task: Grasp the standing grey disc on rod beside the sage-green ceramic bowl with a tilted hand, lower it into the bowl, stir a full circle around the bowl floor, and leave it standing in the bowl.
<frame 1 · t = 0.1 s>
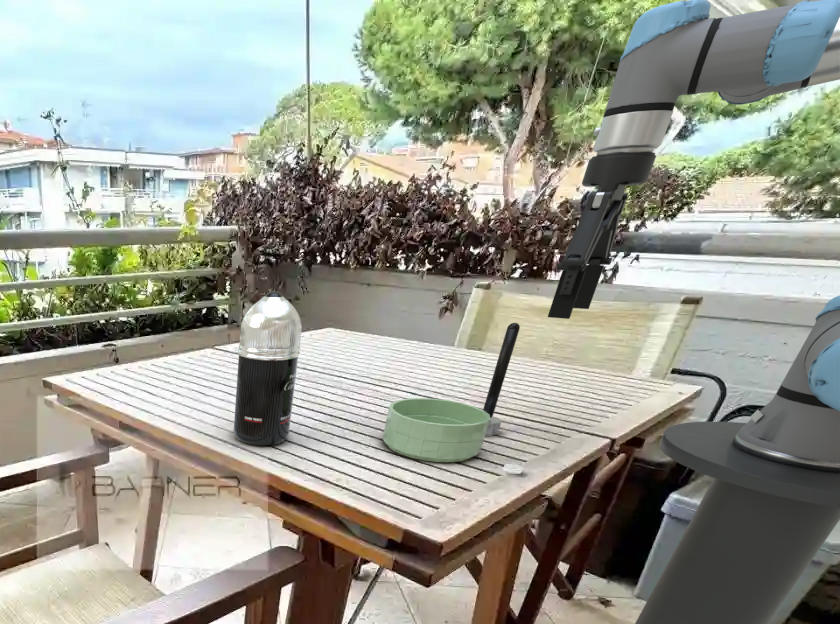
hand: (568, 313, 87), 21 cm above the table, tool pointing down, fingers open, 13 cm apart
bowl: (428, 447, 95), on the table
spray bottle: (260, 439, 100), on the table
grey disc on rod: (482, 431, 102), on the table
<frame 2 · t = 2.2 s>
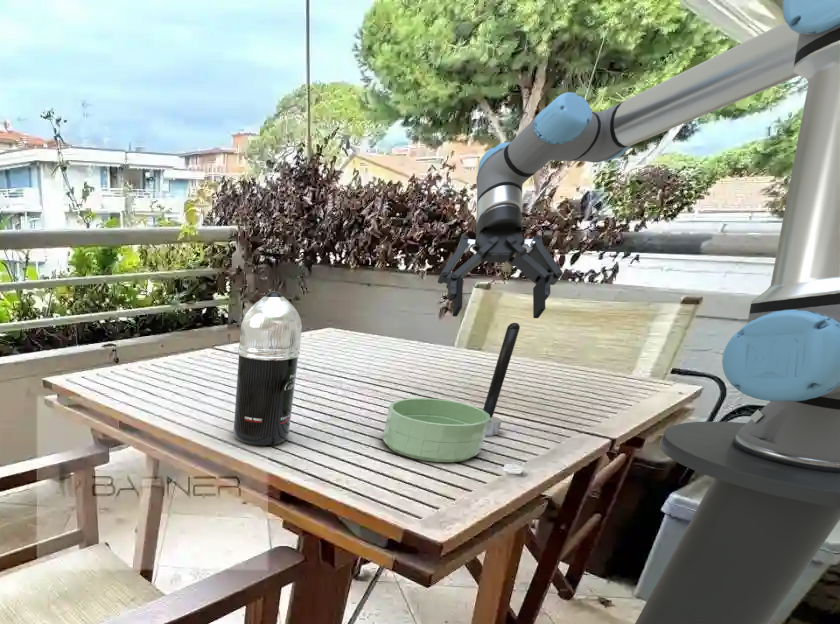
hand: (497, 312, 101), 19 cm above the table, tool tilted 45°, fingers open, 13 cm apart
nothing on the table moved.
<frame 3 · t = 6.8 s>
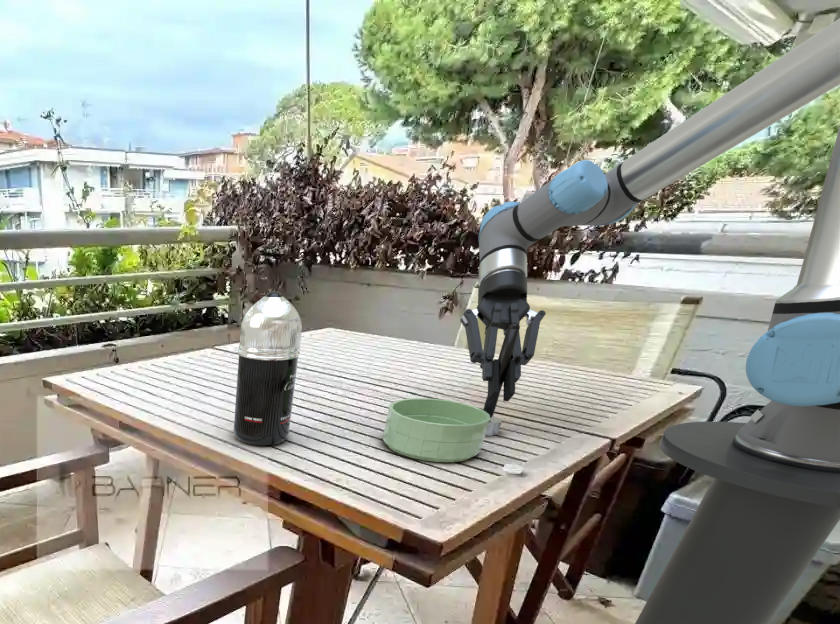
hand: (501, 396, 95), 8 cm above the table, tool tilted 45°, fingers closed on grey disc on rod, 2 cm apart
grey disc on rod: (482, 431, 102), on the table, touching gripper
everything else where it was.
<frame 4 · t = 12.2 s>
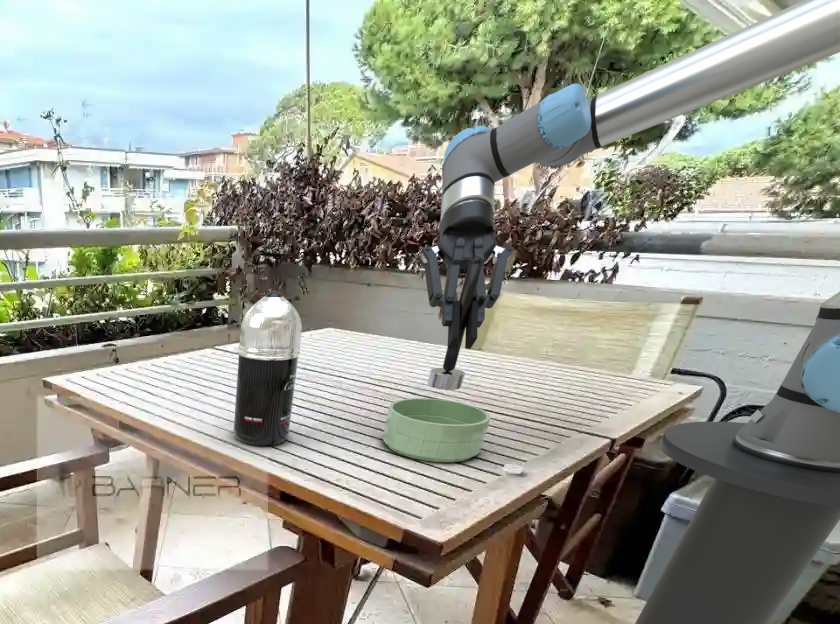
hand: (462, 342, 83), 18 cm above the table, tool tilted 45°, fingers closed on grey disc on rod, 2 cm apart
grey disc on rod: (443, 385, 90), point 11 cm above the table, touching gripper
everything else where it was.
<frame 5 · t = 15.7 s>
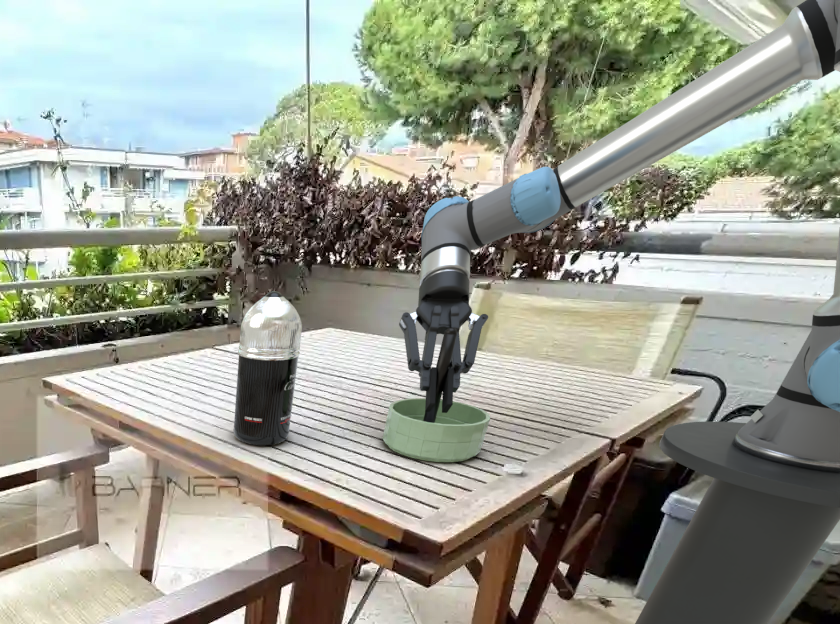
hand: (438, 407, 87), 8 cm above the table, tool tilted 45°, fingers closed on grey disc on rod, 2 cm apart
grey disc on rod: (423, 444, 94), point 1 cm above the table, touching gripper
everything else where it was.
when the fingers open (8 cm above the table, at t = 18.0 s): grey disc on rod stays where it is, resting on bowl.
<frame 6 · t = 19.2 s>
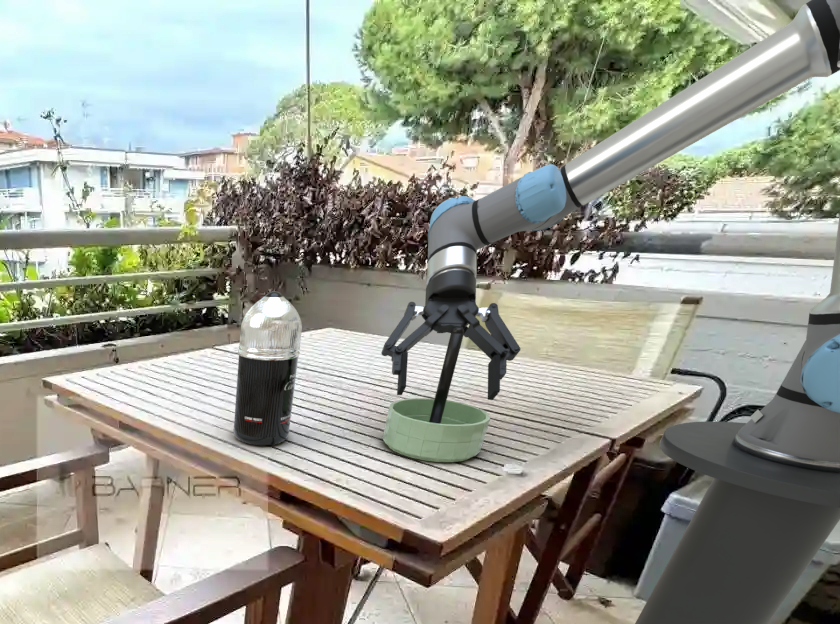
hand: (446, 393, 88), 10 cm above the table, tool tilted 45°, fingers open, 13 cm apart
grey disc on rod: (429, 442, 95), point 1 cm above the table, touching bowl
everything else where it was.
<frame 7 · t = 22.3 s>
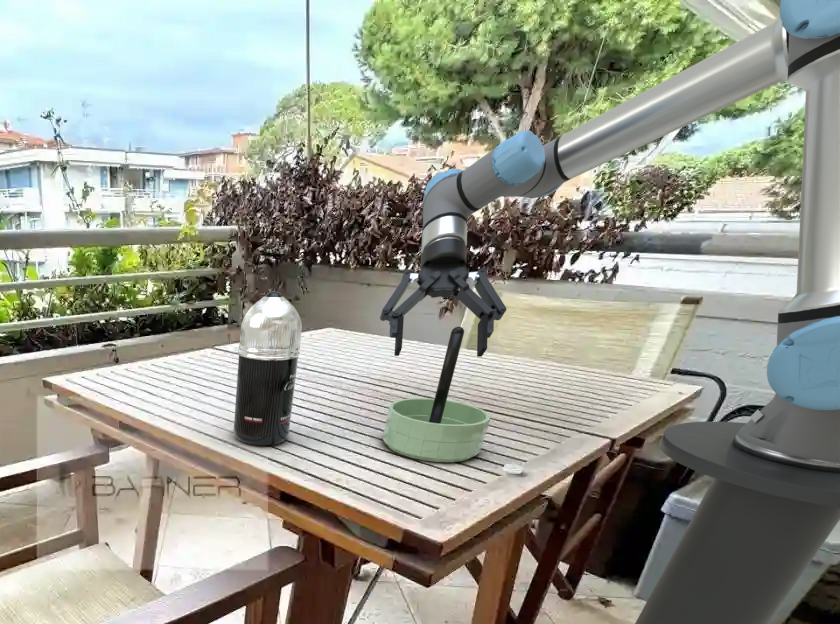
hand: (439, 352, 98), 14 cm above the table, tool tilted 45°, fingers open, 13 cm apart
nothing on the table moved.
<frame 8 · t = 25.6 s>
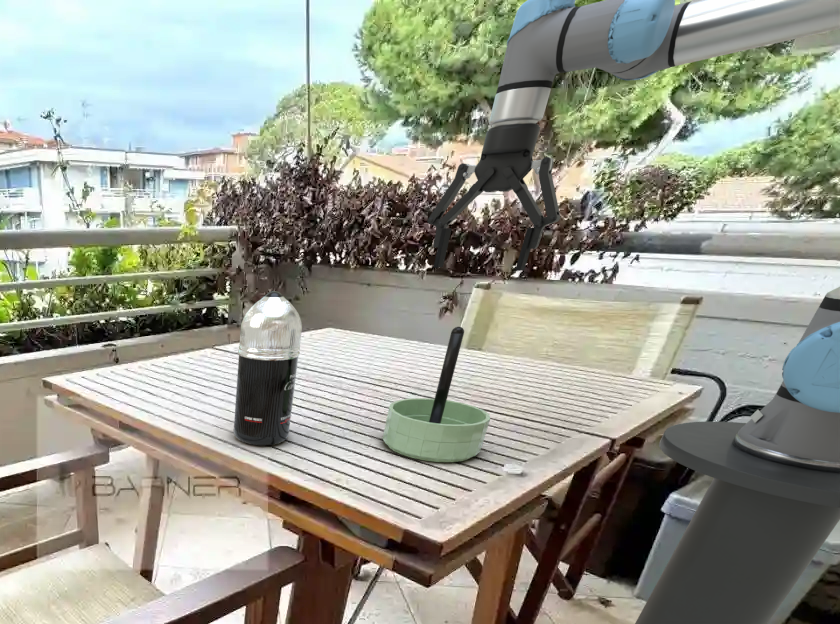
hand: (477, 269, 99), 27 cm above the table, tool pointing down, fingers open, 13 cm apart
nothing on the table moved.
at the end: grey disc on rod inside the target area in the bowl (0.1 cm from its centre), point 0.8 cm above the bowl's base; grey disc on rod moved 15.5 cm from its start; the gripper is holding nothing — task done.
